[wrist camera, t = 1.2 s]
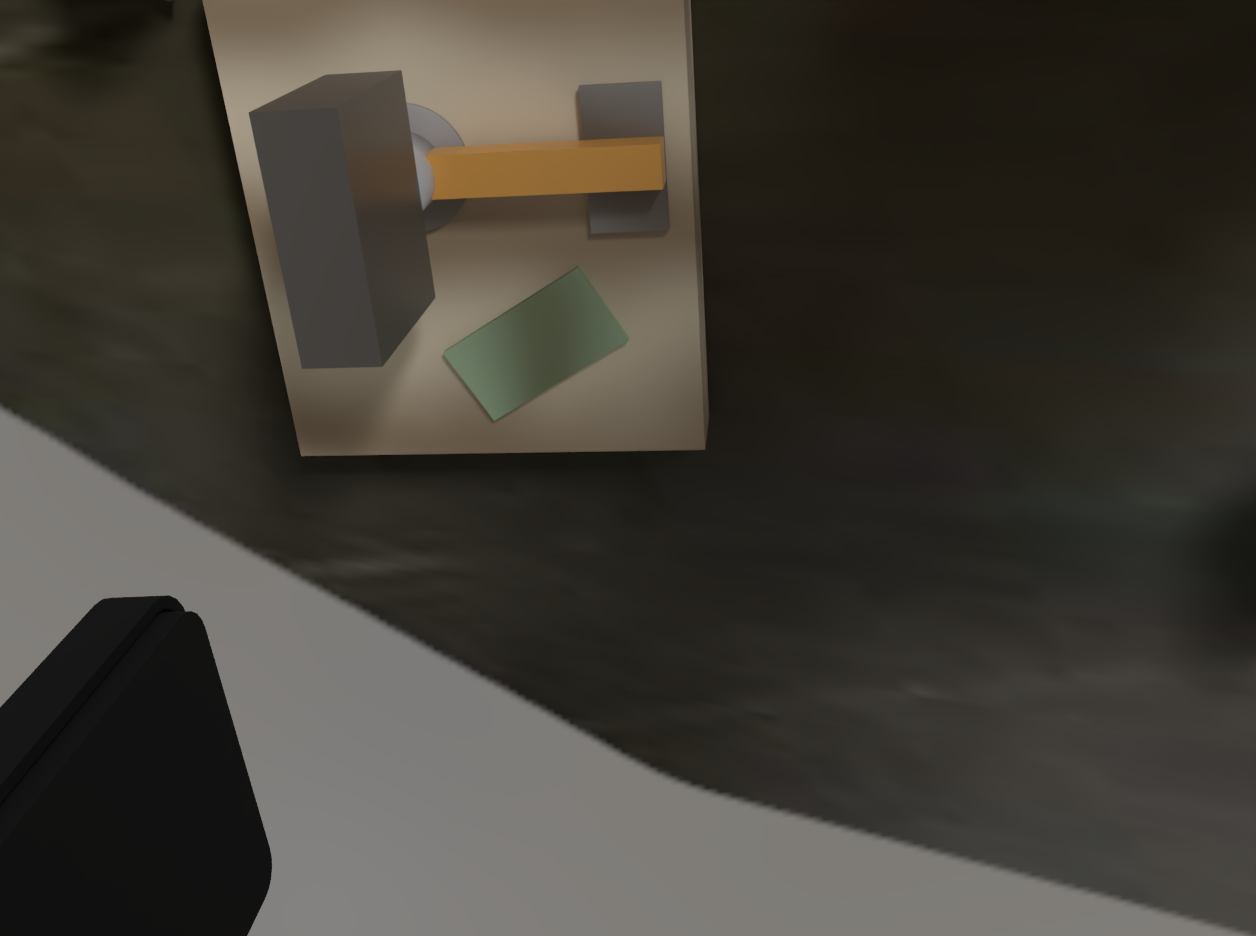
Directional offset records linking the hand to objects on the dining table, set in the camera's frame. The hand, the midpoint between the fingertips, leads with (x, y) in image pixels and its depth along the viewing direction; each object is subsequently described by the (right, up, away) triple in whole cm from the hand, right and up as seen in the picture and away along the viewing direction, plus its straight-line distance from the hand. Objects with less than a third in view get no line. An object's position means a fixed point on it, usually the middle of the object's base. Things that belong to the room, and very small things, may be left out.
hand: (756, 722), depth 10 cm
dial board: (-5, +10, +27) cm, 29 cm away
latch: (-4, +10, +23) cm, 26 cm away
